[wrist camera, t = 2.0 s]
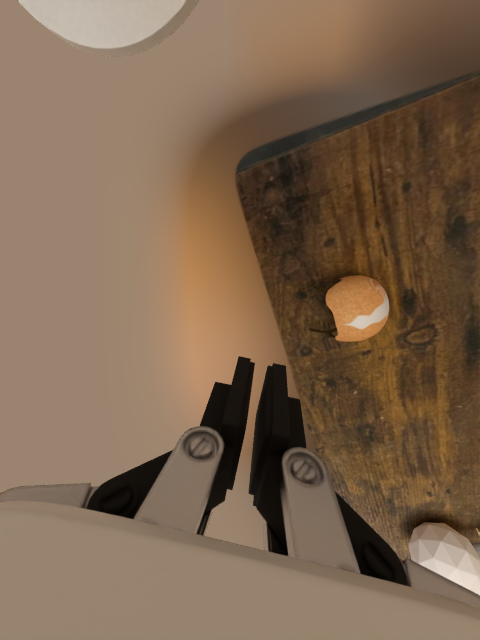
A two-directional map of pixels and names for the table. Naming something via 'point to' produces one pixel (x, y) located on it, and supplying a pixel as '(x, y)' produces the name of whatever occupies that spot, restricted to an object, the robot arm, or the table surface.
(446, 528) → the perfume bottle
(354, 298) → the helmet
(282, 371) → the robot arm
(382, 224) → the table surface
